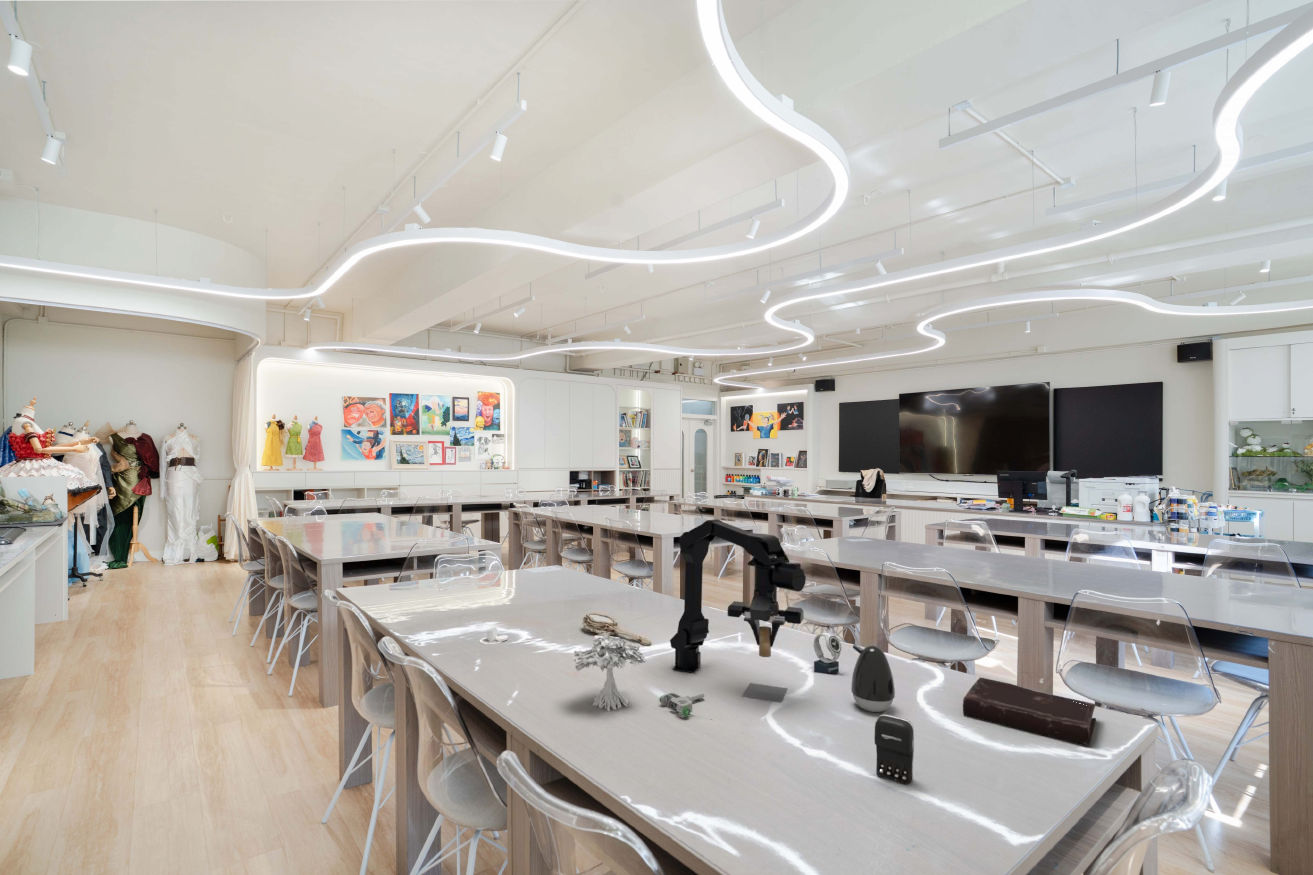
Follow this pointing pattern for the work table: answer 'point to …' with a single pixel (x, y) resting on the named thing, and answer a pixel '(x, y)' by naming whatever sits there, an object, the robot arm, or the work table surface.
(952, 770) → the work table surface
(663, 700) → the mechanical component
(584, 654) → the tree
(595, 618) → the hand mirror
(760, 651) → the dowel
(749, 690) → the mat
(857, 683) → the pump dispenser
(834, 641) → the watch
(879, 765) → the battery charger
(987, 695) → the diary
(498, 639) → the teacup and saucer
